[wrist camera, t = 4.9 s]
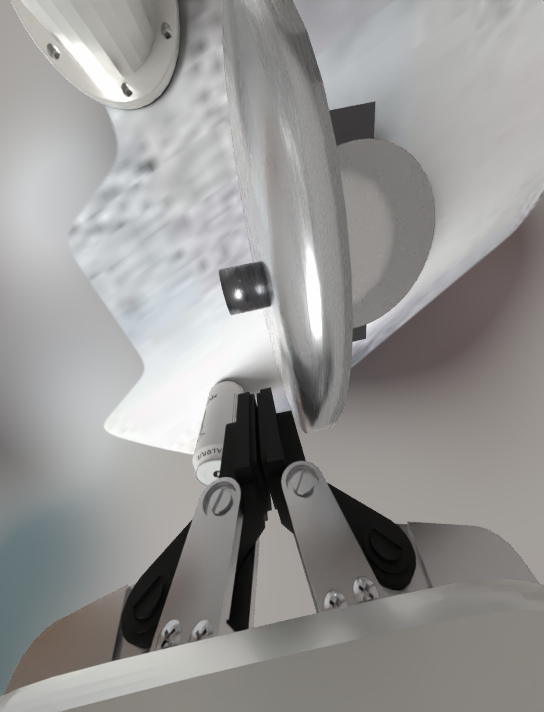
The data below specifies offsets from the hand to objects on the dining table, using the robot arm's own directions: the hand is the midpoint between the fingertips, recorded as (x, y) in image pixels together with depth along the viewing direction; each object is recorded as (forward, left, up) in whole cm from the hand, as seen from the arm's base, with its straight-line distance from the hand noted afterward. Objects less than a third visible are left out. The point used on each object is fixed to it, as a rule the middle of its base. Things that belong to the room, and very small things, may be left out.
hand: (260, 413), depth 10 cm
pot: (-5, +12, -22) cm, 25 cm away
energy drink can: (+14, -7, -22) cm, 27 cm away
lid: (-5, +3, -5) cm, 8 cm away
